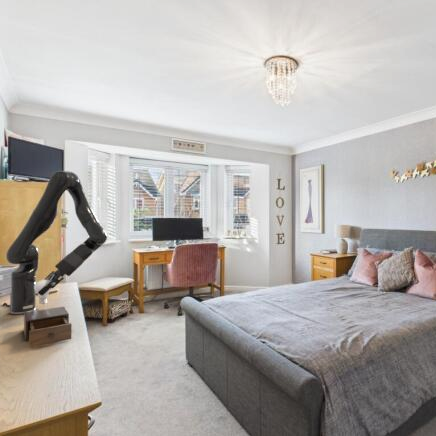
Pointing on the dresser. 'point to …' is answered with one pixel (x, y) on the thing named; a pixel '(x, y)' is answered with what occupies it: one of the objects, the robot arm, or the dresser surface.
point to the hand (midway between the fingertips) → (38, 292)
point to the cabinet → (43, 317)
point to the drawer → (49, 331)
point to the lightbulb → (38, 287)
